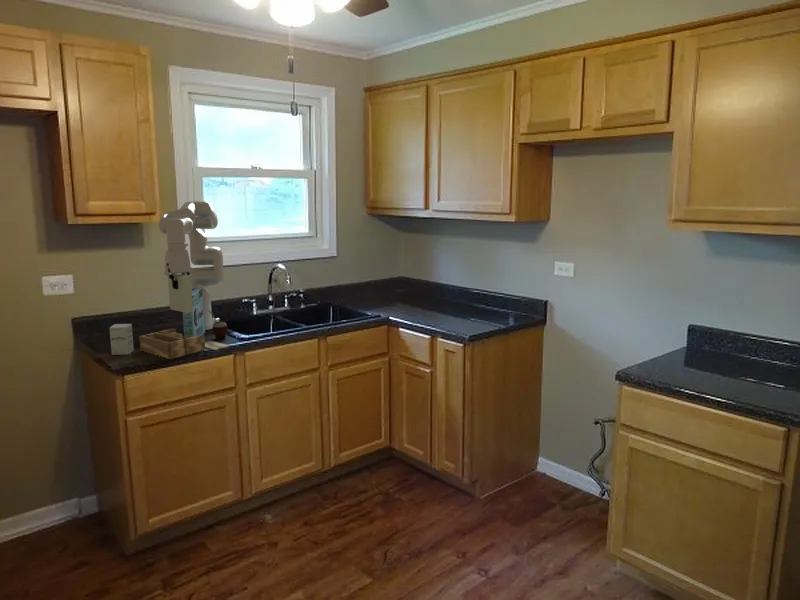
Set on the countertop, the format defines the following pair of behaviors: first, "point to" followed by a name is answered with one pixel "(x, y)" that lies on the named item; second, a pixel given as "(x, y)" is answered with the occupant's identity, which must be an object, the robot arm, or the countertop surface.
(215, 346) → the cork board
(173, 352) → the oak rack
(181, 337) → the offcut pine
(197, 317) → the gum box
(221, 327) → the mate gourd
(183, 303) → the sage panel
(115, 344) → the supplement box
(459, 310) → the countertop surface
